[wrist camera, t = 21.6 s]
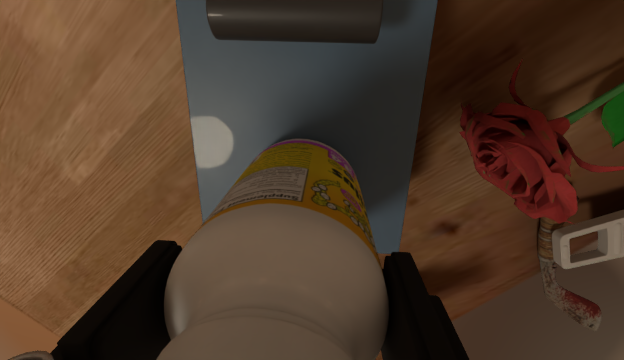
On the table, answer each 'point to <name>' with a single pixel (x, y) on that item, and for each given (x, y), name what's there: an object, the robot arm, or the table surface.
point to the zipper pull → (611, 240)
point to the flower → (535, 151)
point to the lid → (308, 90)
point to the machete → (559, 296)
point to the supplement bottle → (281, 267)
